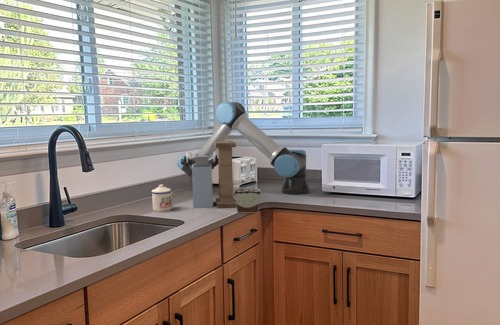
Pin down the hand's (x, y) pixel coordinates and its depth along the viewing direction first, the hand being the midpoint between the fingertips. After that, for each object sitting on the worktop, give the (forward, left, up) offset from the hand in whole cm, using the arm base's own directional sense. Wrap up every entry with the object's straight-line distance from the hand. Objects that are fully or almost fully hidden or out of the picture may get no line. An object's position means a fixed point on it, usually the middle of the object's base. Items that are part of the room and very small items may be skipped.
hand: (200, 154), depth 216 cm
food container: (-24, +23, -24) cm, 41 cm away
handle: (-1, +3, -4) cm, 5 cm away
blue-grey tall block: (-1, +8, -24) cm, 25 cm away
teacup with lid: (+15, +17, -24) cm, 33 cm away
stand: (-13, +9, -24) cm, 28 cm away
